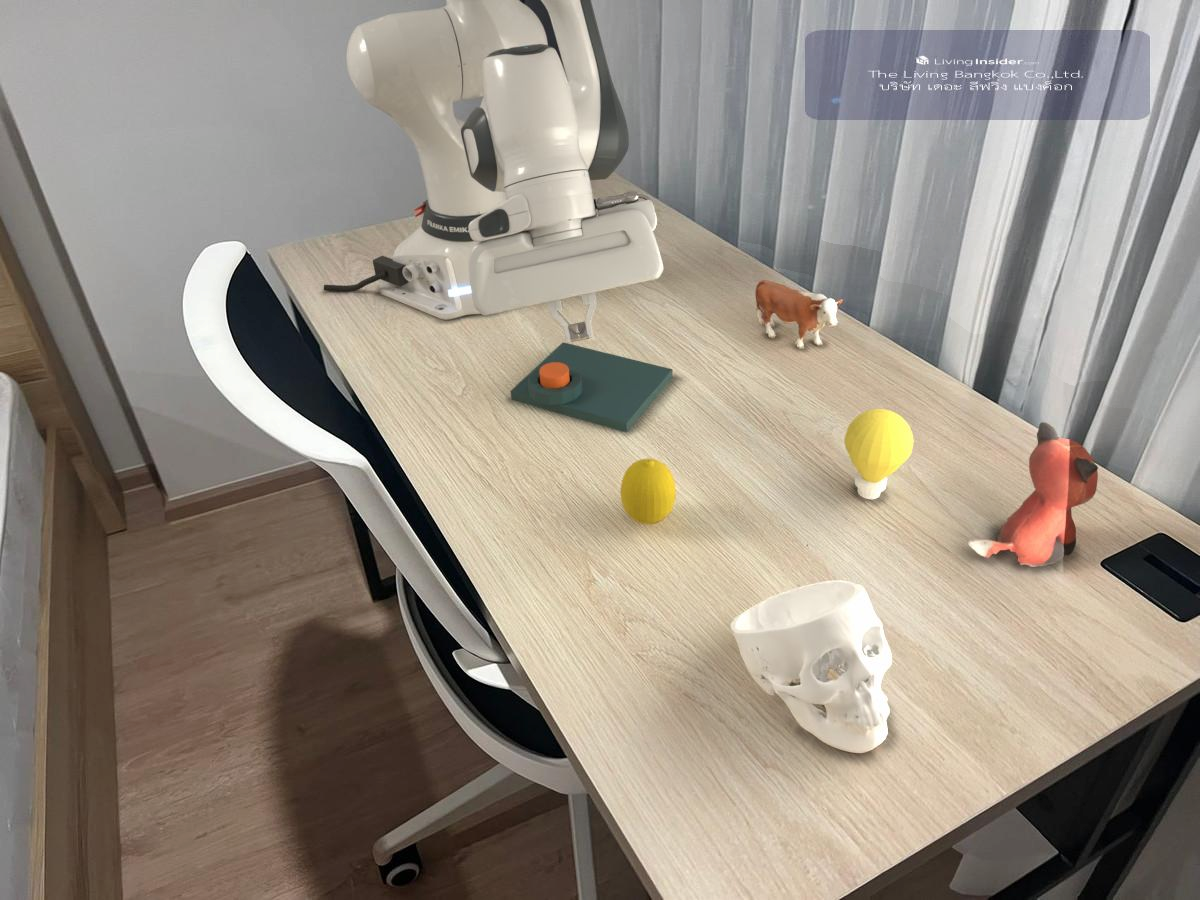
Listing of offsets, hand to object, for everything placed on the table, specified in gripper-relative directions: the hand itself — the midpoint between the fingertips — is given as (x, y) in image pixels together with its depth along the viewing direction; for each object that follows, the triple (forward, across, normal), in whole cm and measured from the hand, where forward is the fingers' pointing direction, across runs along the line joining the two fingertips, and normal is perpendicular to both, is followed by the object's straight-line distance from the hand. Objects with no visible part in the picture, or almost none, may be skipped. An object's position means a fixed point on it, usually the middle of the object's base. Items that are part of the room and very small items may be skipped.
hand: (580, 340), depth 96 cm
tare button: (+5, +5, -13) cm, 15 cm away
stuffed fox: (+28, -38, +11) cm, 48 cm away
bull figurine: (+8, -26, -26) cm, 38 cm away
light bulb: (+22, -27, +3) cm, 35 cm away
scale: (+8, +1, -16) cm, 18 cm away
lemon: (+19, -3, +7) cm, 21 cm away
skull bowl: (+30, -14, +25) cm, 42 cm away
